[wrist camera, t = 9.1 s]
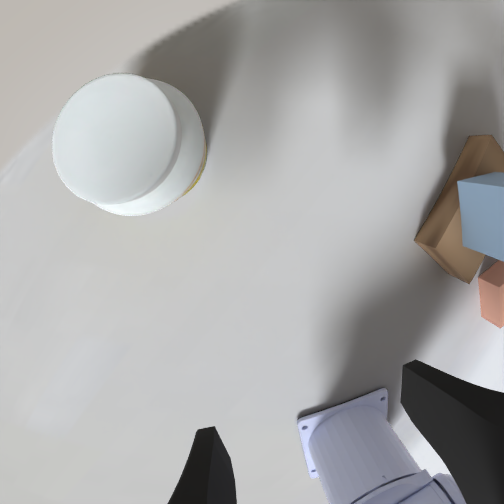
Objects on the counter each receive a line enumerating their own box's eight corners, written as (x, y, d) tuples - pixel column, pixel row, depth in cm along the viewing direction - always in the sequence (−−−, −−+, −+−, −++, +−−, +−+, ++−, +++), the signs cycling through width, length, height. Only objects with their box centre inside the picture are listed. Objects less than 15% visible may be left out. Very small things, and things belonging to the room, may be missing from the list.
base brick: (445, 272, 22) (469, 284, 19) (410, 239, 21) (435, 248, 18) (495, 175, 21) (519, 178, 18) (465, 136, 20) (491, 134, 17)
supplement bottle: (226, 159, 18) (243, 144, 9) (156, 220, 18) (106, 267, 9) (167, 92, 16) (129, 21, 7) (99, 154, 17) (8, 143, 7)
